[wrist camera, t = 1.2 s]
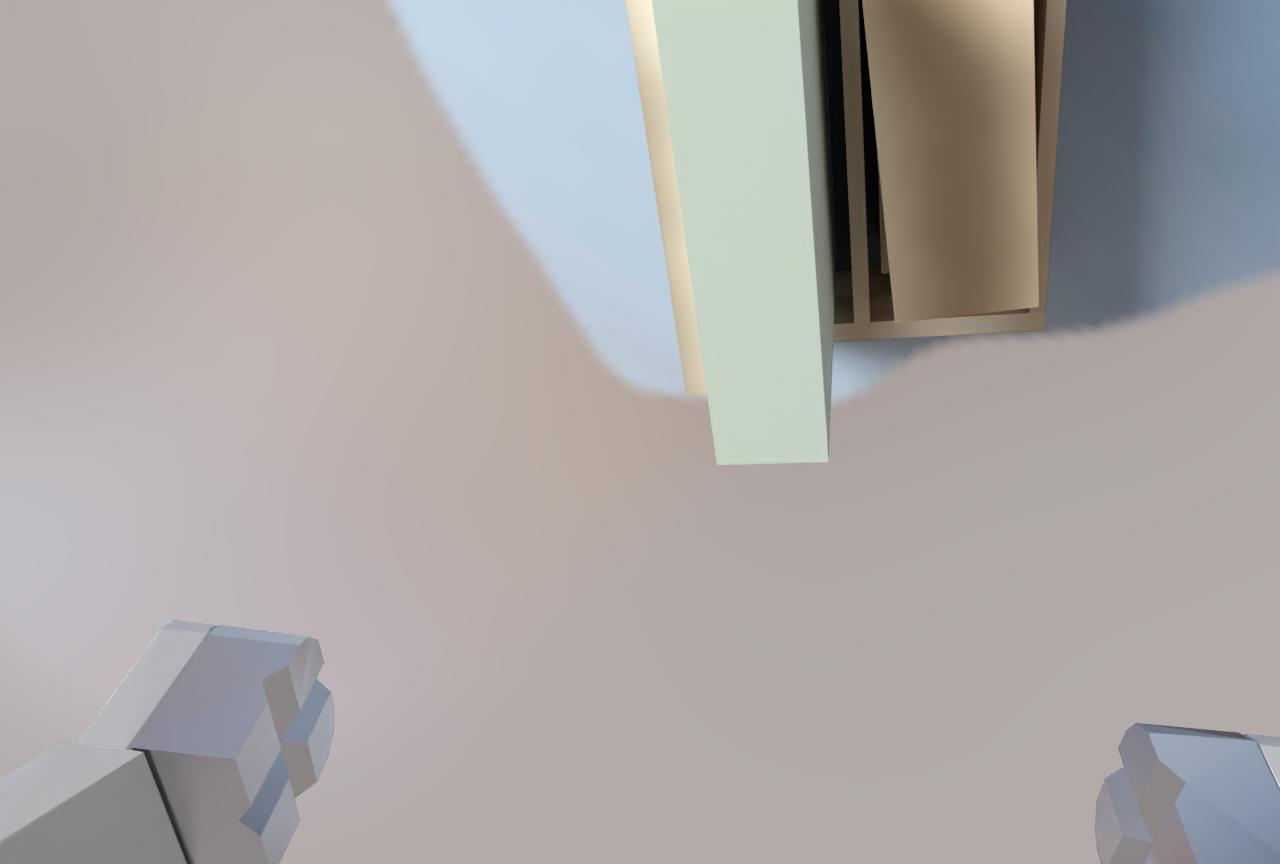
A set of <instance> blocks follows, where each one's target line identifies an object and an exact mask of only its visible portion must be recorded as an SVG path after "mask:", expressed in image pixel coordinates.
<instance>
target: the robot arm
mask: <svg viewBox="0 0 1280 864" xmlns="http://www.w3.org/2000/svg"><path fill="white" fill-rule="evenodd" d="M323 664H324V660H323V656H322V653H321V649H320V645H319V642H318V640H317V639H313V638H310V637H305V636H298V635H290V634H283V633H274V632H267V631H259V630H252V629H245V628H237V627H230V626H221V625H219V626H218V625H210V624H202V623H194V622H185V621H178V620H174V621H172V622H171V623H169V624H167V625H166V626H164V627H163V628H161V629H160V630H159V631H158V632H157V633H156V635H155V636H154V638H153V639H152V641H151V642H150V643H149V644H148V646H147V647H146V649H145V650H144V651H143V653H142V654H141V656H140V657H139V658H138V660H137V661H136V662H135V664H134V665H133V667H132V668H131V669H130V671H129V672H128V674H127V675H126V676H125V678H124V679H123V681H122V682H121V683H120V684H119V686H118V687H117V689H116V690H115V691H114V693H113V695H111V697H110V698H109V700H108V701H107V703H106V704H105V705H104V706H103V708H102V709H101V711H100V712H99V713H98V715H97V716H96V718H95V719H94V720H93V722H92V723H91V724H90V726H89V727H88V729H87V730H86V731H85V733H84V734H83V736H82V737H81V738H80V740H79V741H78V742H77V743H66V742H62V743H60V744H59V745H57V746H55V747H53V748H52V749H50V750H48V751H47V752H45V753H43V754H42V755H40V756H38V757H36V758H35V759H34V760H31V761H30V762H28V763H26V764H25V765H23V766H21V767H19V768H18V769H16V770H14V771H13V772H11V773H9V774H8V775H6V776H4V777H3V778H1V779H0V864H279V863H280V861H281V859H282V857H283V855H284V852H285V850H286V848H287V846H288V844H289V842H290V840H291V837H292V835H293V833H294V831H295V829H296V827H297V824H298V822H299V820H300V818H299V814H298V810H297V806H296V803H295V799H294V798H296V797H297V796H298V795H300V794H301V793H302V792H304V791H305V790H307V789H308V788H309V787H311V786H312V785H313V784H315V783H316V782H317V781H318V779H319V776H320V774H321V772H322V769H323V767H324V765H325V762H326V760H327V758H328V754H329V749H330V745H331V741H332V736H333V732H334V706H333V701H332V696H331V692H330V691H329V690H328V689H327V688H326V687H325V686H324V685H323V684H321V683H320V682H319V681H318V680H317V679H316V678H317V676H318V674H319V672H320V670H321V668H322V666H323ZM1118 749H1119V752H1120V756H1121V758H1122V762H1123V765H1124V767H1123V768H1121V769H1120V770H1118V771H1116V772H1115V773H1113V774H1111V775H1110V776H1108V777H1106V778H1105V780H1104V783H1103V785H1102V788H1101V791H1100V793H1099V796H1098V799H1097V805H1096V818H1095V834H1096V842H1097V850H1098V854H1099V858H1100V862H1101V864H1280V737H1270V736H1261V735H1252V734H1244V735H1242V734H1240V733H1236V732H1226V731H1216V730H1215V731H1214V730H1205V729H1194V728H1183V727H1173V726H1162V725H1151V724H1141V723H1135V724H1134V725H1133V726H1131V727H1130V728H1129V729H1128V730H1126V732H1125V734H1124V737H1123V739H1122V741H1121V743H1120V745H1119V747H1118Z"/></svg>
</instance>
